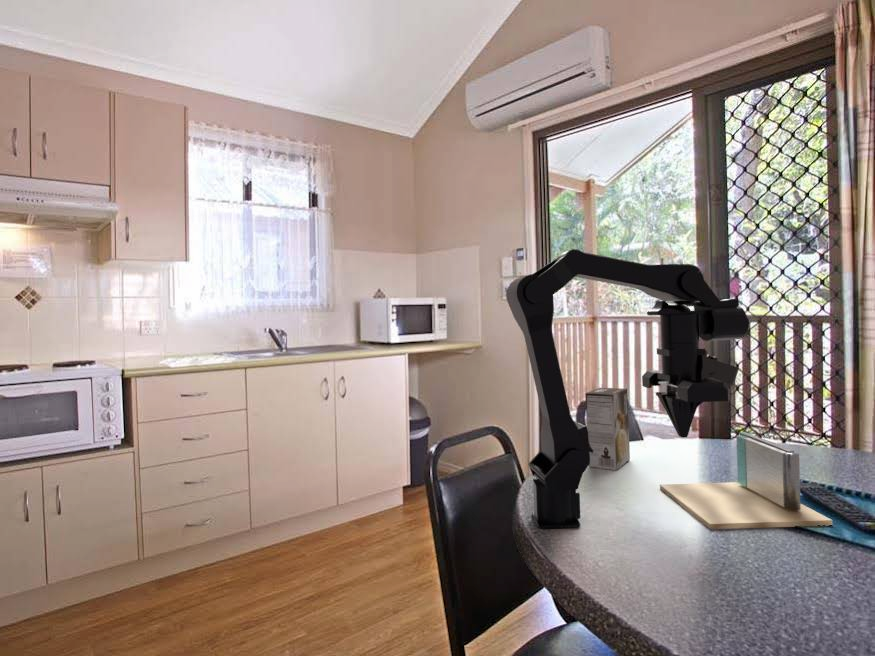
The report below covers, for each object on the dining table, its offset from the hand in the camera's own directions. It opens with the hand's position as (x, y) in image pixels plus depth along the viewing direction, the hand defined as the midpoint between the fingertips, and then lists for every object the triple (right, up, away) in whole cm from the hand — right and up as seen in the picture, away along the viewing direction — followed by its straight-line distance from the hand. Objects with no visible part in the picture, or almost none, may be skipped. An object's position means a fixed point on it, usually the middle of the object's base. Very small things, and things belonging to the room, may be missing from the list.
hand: (683, 436), depth 84 cm
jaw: (+15, -10, +2) cm, 18 cm away
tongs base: (+9, -12, +1) cm, 15 cm away
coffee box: (-3, -12, +27) cm, 30 cm away
